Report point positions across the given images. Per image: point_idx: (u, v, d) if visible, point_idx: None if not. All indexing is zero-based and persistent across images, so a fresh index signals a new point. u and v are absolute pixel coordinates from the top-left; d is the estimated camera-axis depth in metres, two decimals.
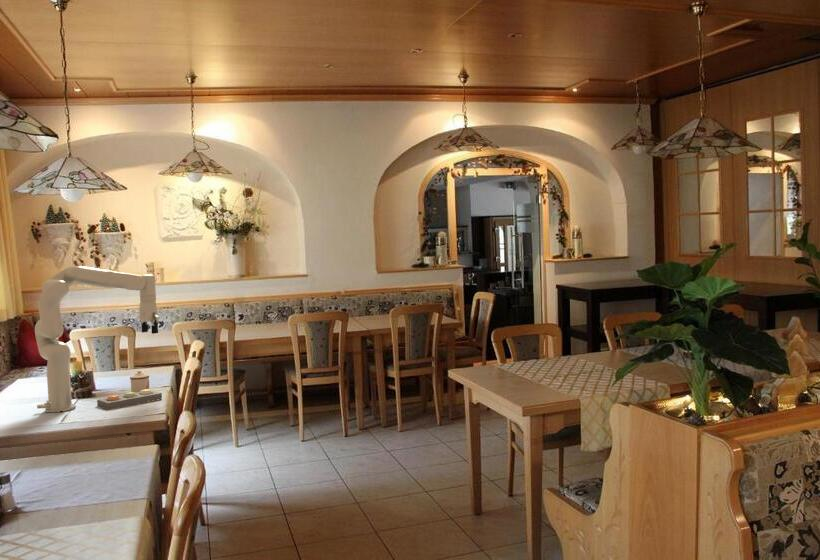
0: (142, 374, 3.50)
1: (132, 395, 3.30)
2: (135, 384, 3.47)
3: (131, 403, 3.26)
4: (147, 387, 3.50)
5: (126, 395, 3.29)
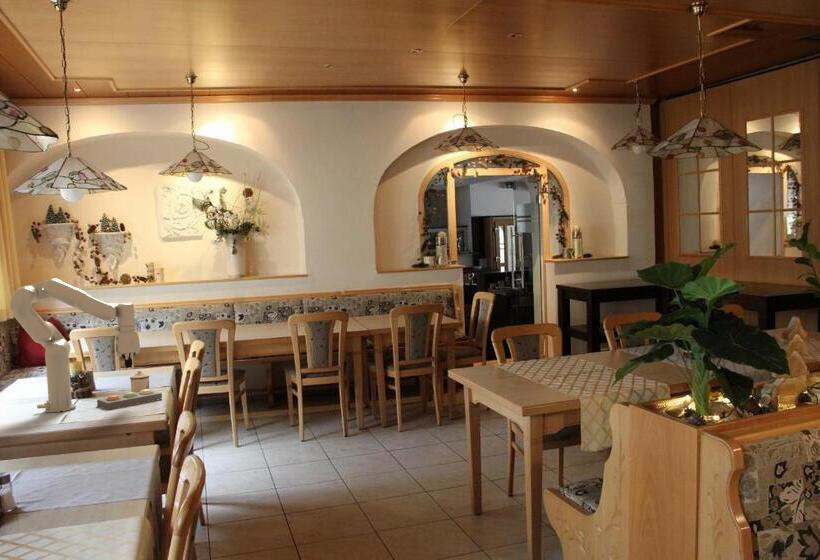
0: (142, 374, 3.50)
1: (132, 395, 3.30)
2: (135, 384, 3.47)
3: (131, 403, 3.26)
4: (147, 387, 3.50)
5: (126, 395, 3.29)
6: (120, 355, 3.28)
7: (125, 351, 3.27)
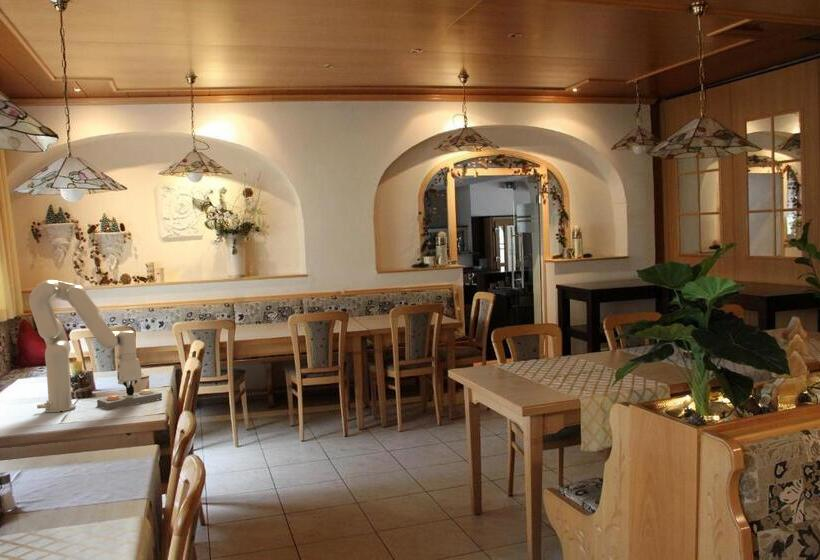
0: (142, 374, 3.50)
1: None
2: (135, 384, 3.47)
3: (131, 403, 3.26)
4: (147, 387, 3.50)
5: (126, 397, 3.29)
6: (122, 383, 3.28)
7: (127, 379, 3.28)
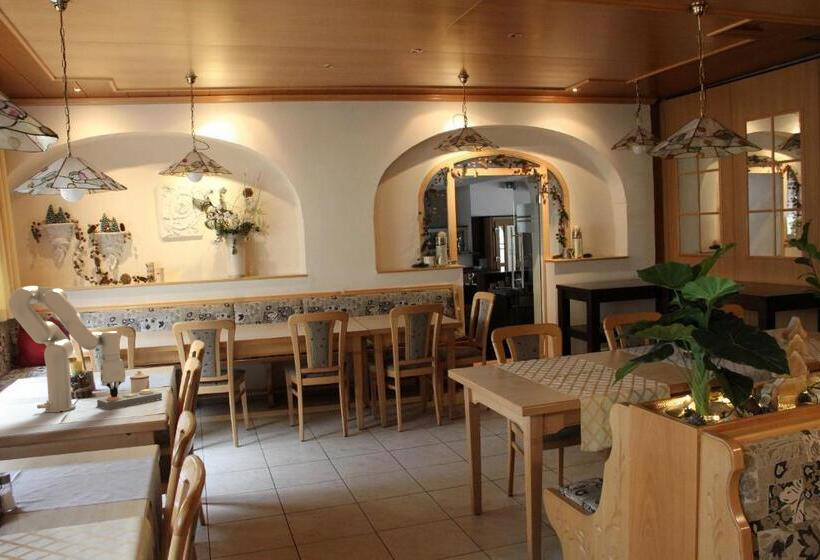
0: (142, 374, 3.50)
1: None
2: (135, 384, 3.47)
3: (131, 403, 3.26)
4: (147, 387, 3.50)
5: (126, 397, 3.29)
6: (105, 384, 3.22)
7: (110, 380, 3.22)
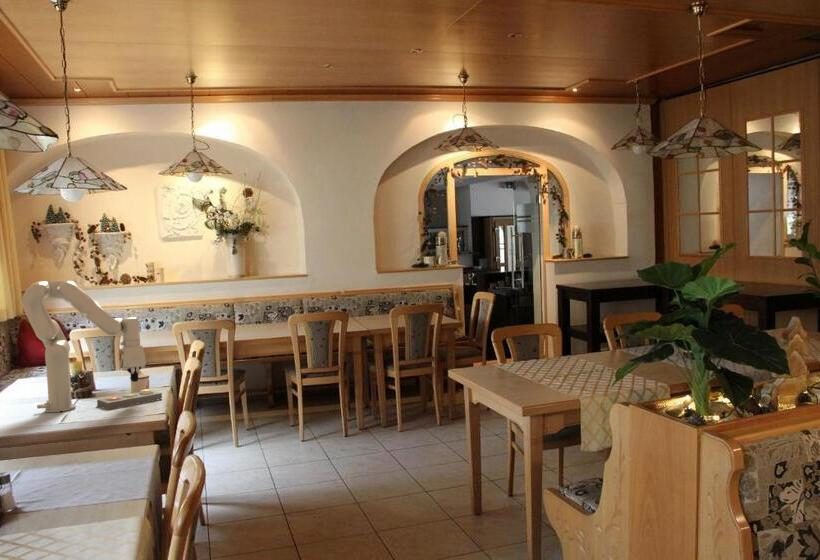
0: (142, 374, 3.50)
1: None
2: (135, 384, 3.47)
3: (131, 403, 3.26)
4: (147, 387, 3.50)
5: (126, 397, 3.29)
6: (126, 369, 3.29)
7: (131, 365, 3.29)
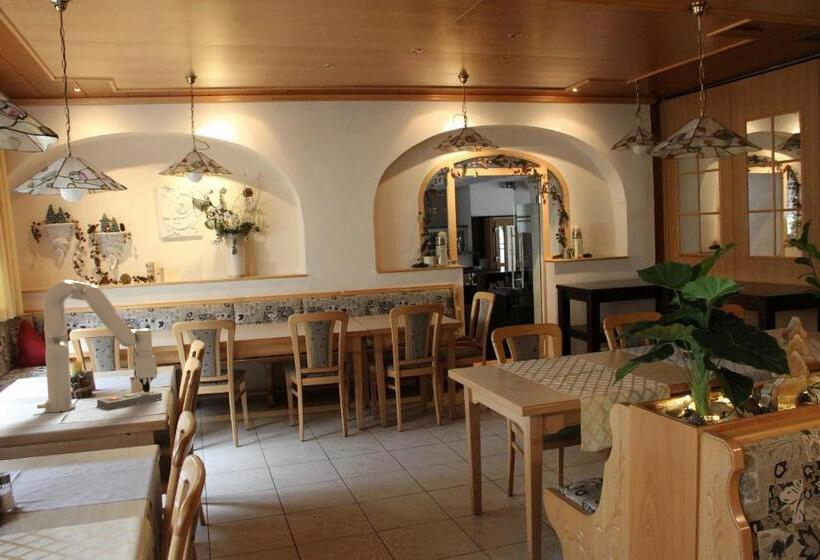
0: None
1: None
2: (135, 384, 3.47)
3: (131, 403, 3.26)
4: None
5: (126, 397, 3.29)
6: (138, 380, 3.34)
7: (143, 376, 3.34)
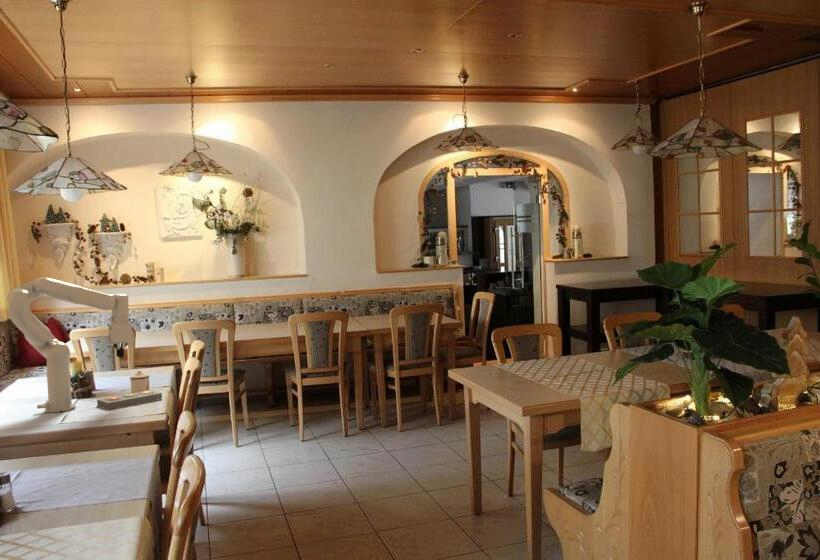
0: (142, 374, 3.50)
1: None
2: (135, 384, 3.47)
3: (131, 403, 3.26)
4: (147, 387, 3.50)
5: (126, 397, 3.29)
6: (112, 344, 3.34)
7: (117, 341, 3.34)
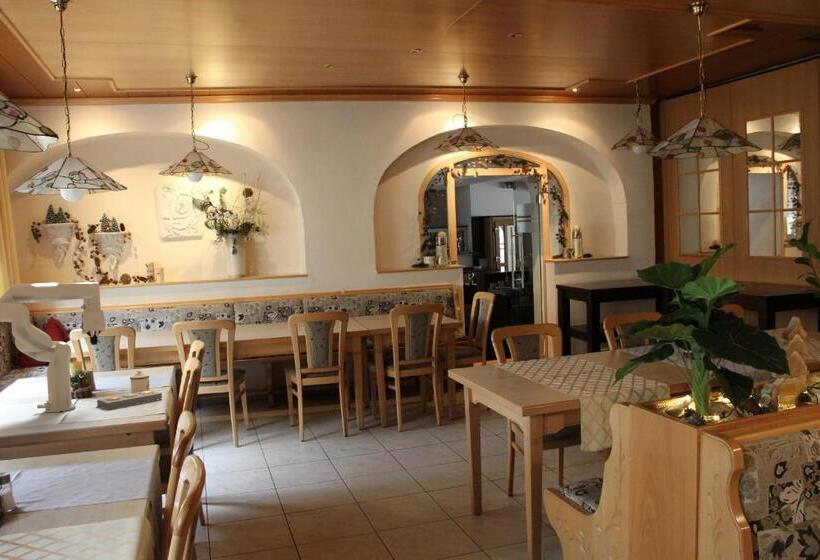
0: (142, 374, 3.50)
1: None
2: (135, 384, 3.47)
3: (131, 403, 3.26)
4: (147, 387, 3.50)
5: (126, 397, 3.29)
6: (85, 332, 3.36)
7: (90, 328, 3.36)
